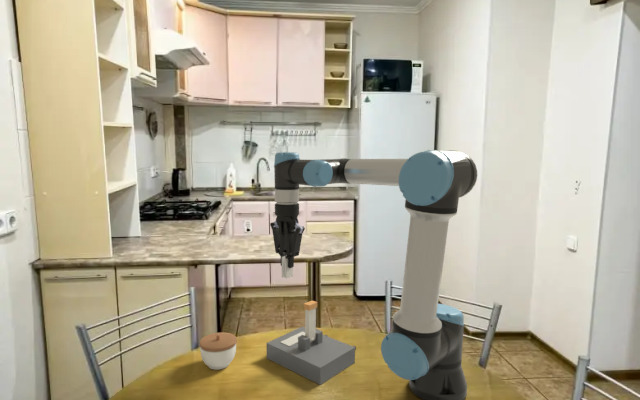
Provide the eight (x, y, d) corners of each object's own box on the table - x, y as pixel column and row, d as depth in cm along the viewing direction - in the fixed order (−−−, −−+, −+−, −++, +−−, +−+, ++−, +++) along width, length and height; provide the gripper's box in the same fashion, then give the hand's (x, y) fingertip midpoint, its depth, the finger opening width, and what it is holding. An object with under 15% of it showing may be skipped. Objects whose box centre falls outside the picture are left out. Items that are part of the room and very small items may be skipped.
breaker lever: (317, 340, 129) (317, 302, 128) (309, 344, 126) (309, 305, 125) (311, 338, 131) (311, 300, 129) (303, 342, 128) (303, 303, 126)
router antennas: (356, 349, 136) (357, 346, 136) (343, 357, 131) (343, 354, 131) (325, 337, 145) (325, 333, 145) (311, 344, 140) (311, 341, 139)
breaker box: (354, 362, 128) (355, 336, 127) (320, 384, 116) (320, 355, 115) (302, 340, 142) (302, 316, 141) (266, 358, 130) (266, 332, 129)
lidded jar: (228, 376, 120) (227, 344, 119) (193, 371, 123) (192, 341, 121) (242, 357, 131) (241, 328, 130) (210, 354, 133) (209, 325, 132)
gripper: (311, 203, 128) (311, 278, 131) (280, 199, 137) (280, 269, 140) (294, 206, 122) (294, 284, 125) (262, 201, 131) (263, 275, 134)
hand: (287, 276), depth 133 cm, fingers closed
